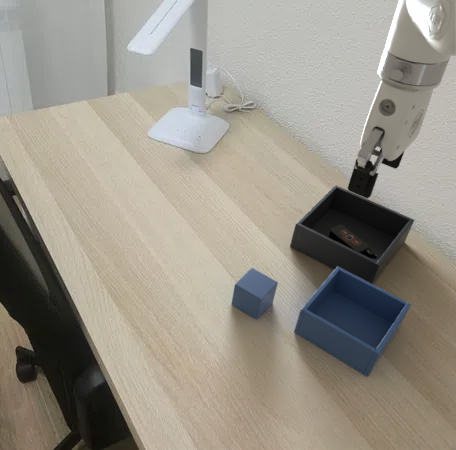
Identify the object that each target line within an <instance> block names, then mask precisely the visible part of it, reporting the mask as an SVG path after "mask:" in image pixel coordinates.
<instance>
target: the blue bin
mask: <svg viewBox="0 0 456 450" xmlns="http://www.w3.org/2000/svg"><path fill="white" fill-rule="evenodd" d="M411 307H412V303H410V302H407V301H406V300H404V299H402V298H400V297H398V296H397V295H394V294H392V293H390V292H389V291H387V290H385V289H382V288H381V287H379V286H377V285H376V284H371V283H369V282H367V281H365V280H363V279H362V278H360V277H358V276H356V275H354V274H352V273H350V272H348V271H346V270H344V269H342V268H340V267H338V266H337V268H336V269H335V270H334V269H333V271H332V272H331V273H330V275H328V277H327V278H326V279H325V280H324V281H323V282H322V284H321V285H320V286H319V287H318V288H317V289H316V291H315V292H314V293H313V294H312V296H311V297H310V298H309V299H308V300H307V301H306V303H305V304H304V305H303V306H302V308H301V309H300V311H299V314H298V318H297V321H296V324H295V326H294V330H293V333H295V334H296V335H298V336H299V337H301V338H303V339H305V340H306V341H308V342H309V343H311V344H313V345H315V346H316V347H317V348H319V349H321V350H323V351H324V352H326V353H327V354H330V355H331V356H332V357H334V358H336V359H337V360H339V361H341V362H343V364H346V365H348V366H349V367H351V368H352V369H354V370H356V371H358V372H359V373H361V374H362V375H364V376H365V377H369V376H370V374H371V373H372V371H373V370H374V368H375V366H376V365H377V363H378V362H379V361H380V359H381V357H382V355H383V354H384V353H385V351H386V350H387V348H388V347H389V345H390V343H391V342H392V340H393V339H394V337H395V336H396V334H397V333H398V331H399V329H400V328H401V326H402V324H403V323H404V320H405V318H406V316H407V314H408V312H409V310H410V309H411Z"/></svg>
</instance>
